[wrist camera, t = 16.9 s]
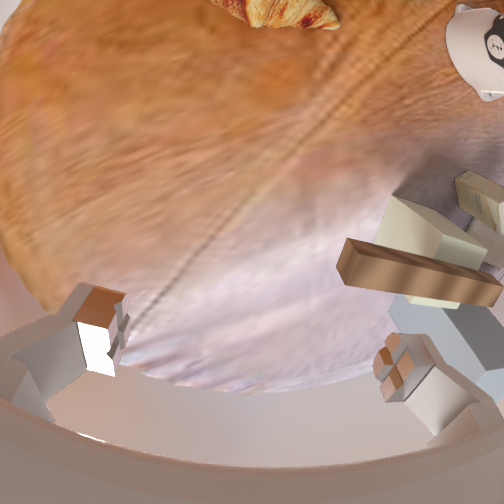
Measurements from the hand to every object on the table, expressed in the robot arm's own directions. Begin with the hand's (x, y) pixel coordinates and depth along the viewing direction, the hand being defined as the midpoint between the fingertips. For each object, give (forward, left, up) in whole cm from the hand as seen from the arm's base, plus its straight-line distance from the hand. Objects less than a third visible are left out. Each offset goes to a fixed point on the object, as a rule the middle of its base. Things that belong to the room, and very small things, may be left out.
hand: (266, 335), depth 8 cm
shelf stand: (-27, +36, -35) cm, 57 cm away
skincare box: (-36, +15, -35) cm, 53 cm away
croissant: (-9, -21, -36) cm, 42 cm away
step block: (-22, +19, -35) cm, 45 cm away
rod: (-18, +17, -20) cm, 32 cm away
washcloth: (-44, +27, -36) cm, 63 cm away
